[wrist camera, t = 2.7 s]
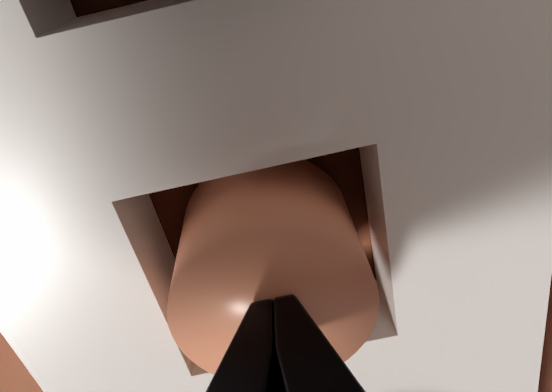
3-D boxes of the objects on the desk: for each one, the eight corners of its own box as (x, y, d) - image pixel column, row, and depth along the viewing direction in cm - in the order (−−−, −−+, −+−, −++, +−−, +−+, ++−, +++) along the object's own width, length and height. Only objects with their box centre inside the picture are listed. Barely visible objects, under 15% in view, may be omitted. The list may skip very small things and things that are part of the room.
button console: (557, -759, 5) (715, -1107, 3) (494, 453, 17) (523, 512, 15) (-412, -458, 6) (-693, -626, 4) (182, 511, 18) (175, 573, 16)
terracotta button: (335, 134, 10) (367, 204, 8) (357, 272, 12) (387, 365, 10) (161, 173, 10) (134, 253, 8) (210, 303, 12) (202, 401, 10)
